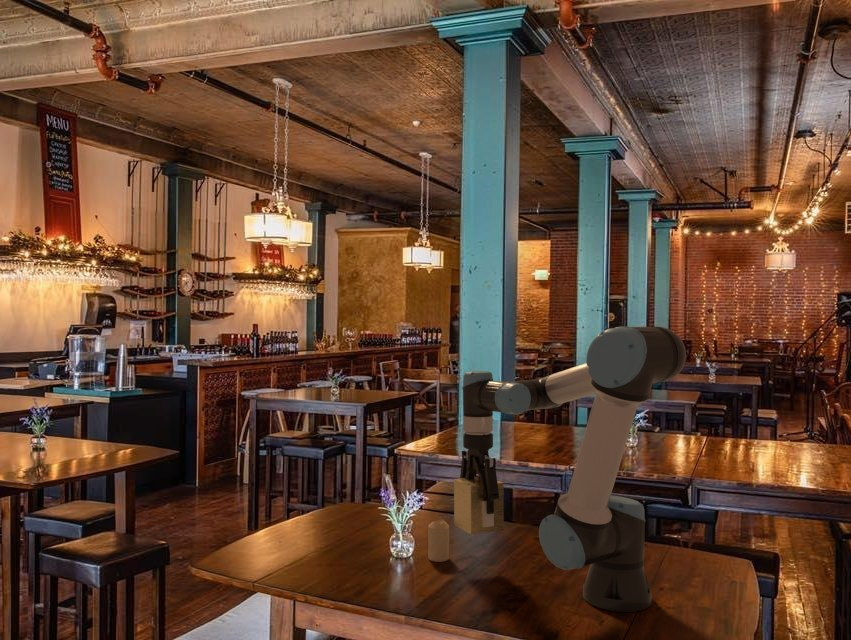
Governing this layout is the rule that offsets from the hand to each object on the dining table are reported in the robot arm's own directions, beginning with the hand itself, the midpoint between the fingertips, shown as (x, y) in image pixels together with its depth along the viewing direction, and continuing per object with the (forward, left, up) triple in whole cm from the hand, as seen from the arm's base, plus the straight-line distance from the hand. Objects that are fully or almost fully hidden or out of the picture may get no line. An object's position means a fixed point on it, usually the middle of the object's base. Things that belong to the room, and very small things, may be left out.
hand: (478, 521), depth 187 cm
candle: (+11, +6, -12) cm, 17 cm away
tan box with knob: (0, 0, -2) cm, 2 cm away
